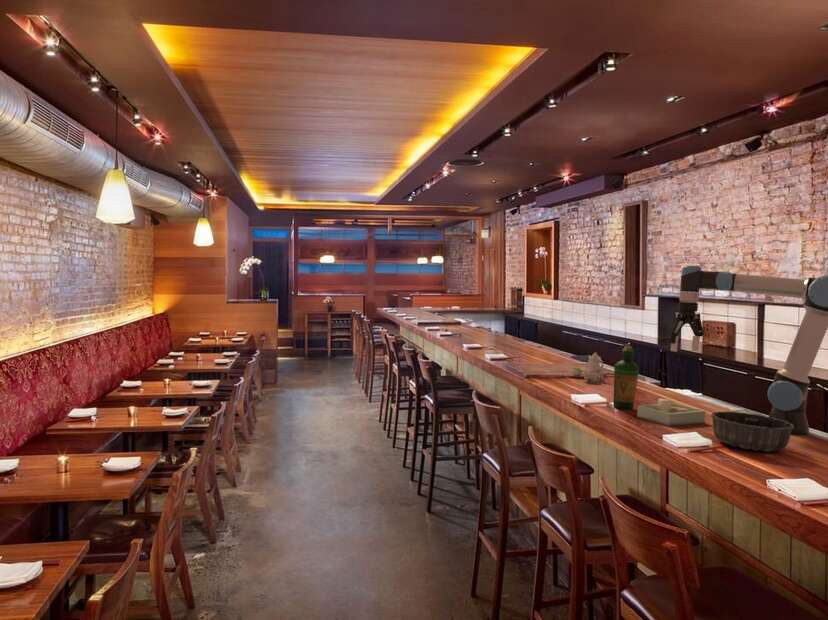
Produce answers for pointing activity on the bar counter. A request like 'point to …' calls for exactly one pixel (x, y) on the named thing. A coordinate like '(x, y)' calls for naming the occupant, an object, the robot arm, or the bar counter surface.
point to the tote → (671, 415)
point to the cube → (677, 409)
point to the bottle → (625, 380)
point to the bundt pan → (751, 431)
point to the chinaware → (590, 369)
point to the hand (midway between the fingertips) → (684, 351)
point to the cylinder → (664, 405)
